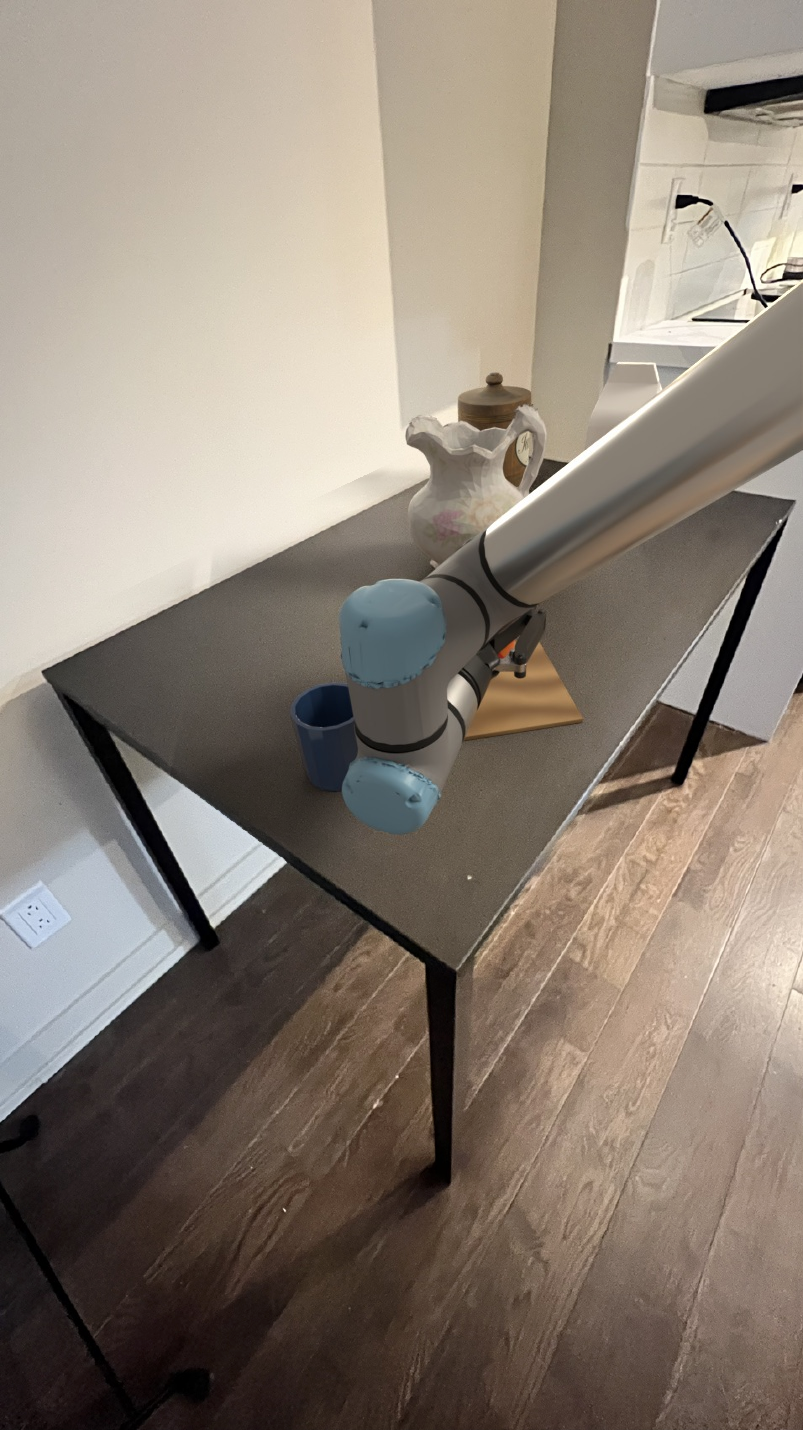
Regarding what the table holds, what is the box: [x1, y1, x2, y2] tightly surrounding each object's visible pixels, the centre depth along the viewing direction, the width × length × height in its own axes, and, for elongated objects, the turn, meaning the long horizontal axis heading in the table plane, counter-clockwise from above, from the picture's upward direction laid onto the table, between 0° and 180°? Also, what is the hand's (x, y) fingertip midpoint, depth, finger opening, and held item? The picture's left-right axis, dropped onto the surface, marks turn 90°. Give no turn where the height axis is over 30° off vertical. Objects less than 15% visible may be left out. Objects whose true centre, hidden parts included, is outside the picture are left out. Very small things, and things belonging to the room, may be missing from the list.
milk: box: [584, 361, 663, 451], centre depth 109 cm, size 12×12×26 cm
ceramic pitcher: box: [404, 403, 547, 570], centre depth 100 cm, size 22×20×25 cm
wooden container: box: [457, 371, 532, 487], centre depth 128 cm, size 15×15×22 cm
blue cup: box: [290, 681, 358, 792], centre depth 69 cm, size 8×8×9 cm
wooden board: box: [463, 640, 584, 742], centre depth 80 cm, size 18×18×1 cm
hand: (501, 582), depth 76 cm, fingers closed on paper cup, 6 cm apart
